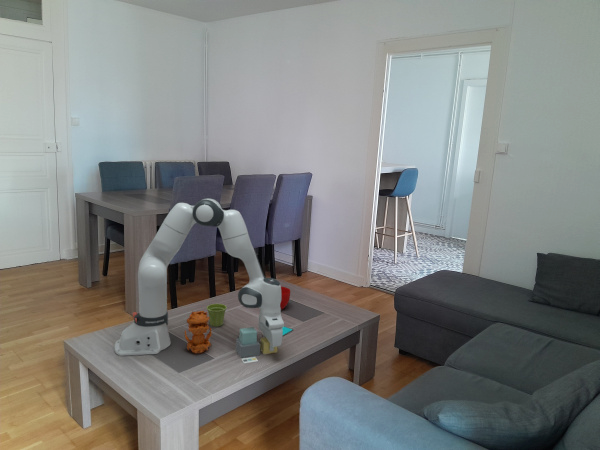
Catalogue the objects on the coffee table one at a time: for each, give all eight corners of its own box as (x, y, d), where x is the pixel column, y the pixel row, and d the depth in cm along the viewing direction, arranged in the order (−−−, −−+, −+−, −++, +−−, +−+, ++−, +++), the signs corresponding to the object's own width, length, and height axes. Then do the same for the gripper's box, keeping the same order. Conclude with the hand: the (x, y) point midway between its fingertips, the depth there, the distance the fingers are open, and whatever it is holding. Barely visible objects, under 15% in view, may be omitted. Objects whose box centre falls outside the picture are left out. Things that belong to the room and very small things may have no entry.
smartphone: (293, 329, 209) (274, 340, 197) (293, 331, 210) (274, 341, 197) (281, 325, 213) (262, 335, 201) (281, 326, 213) (261, 337, 201)
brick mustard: (263, 354, 184) (264, 343, 183) (259, 349, 189) (260, 338, 188) (277, 352, 187) (277, 341, 186) (273, 347, 191) (273, 336, 190)
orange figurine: (187, 358, 178) (187, 316, 174) (182, 346, 187) (182, 306, 184) (214, 354, 182) (215, 313, 179) (208, 342, 192) (209, 303, 189)
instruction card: (243, 363, 176) (243, 363, 176) (241, 358, 180) (241, 358, 179) (258, 361, 178) (258, 360, 178) (255, 356, 182) (255, 356, 182)
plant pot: (208, 329, 205) (209, 311, 204) (204, 321, 214) (204, 304, 212) (228, 326, 209) (228, 309, 208) (223, 319, 218) (223, 302, 216)
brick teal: (242, 345, 181) (242, 333, 180) (239, 339, 185) (239, 328, 184) (256, 343, 183) (257, 331, 182) (253, 338, 188) (253, 327, 187)
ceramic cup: (255, 309, 233) (255, 291, 231) (277, 301, 245) (277, 284, 244) (272, 316, 224) (273, 297, 223) (294, 308, 237) (295, 290, 235)
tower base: (240, 358, 180) (241, 347, 179) (235, 349, 187) (236, 338, 186) (259, 355, 183) (259, 344, 182) (253, 347, 190) (254, 336, 189)
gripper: (255, 308, 193) (254, 337, 196) (270, 326, 175) (269, 359, 177) (268, 306, 196) (267, 335, 198) (285, 325, 177) (284, 356, 180)
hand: (268, 347), depth 188 cm, fingers closed on brick mustard, 5 cm apart
